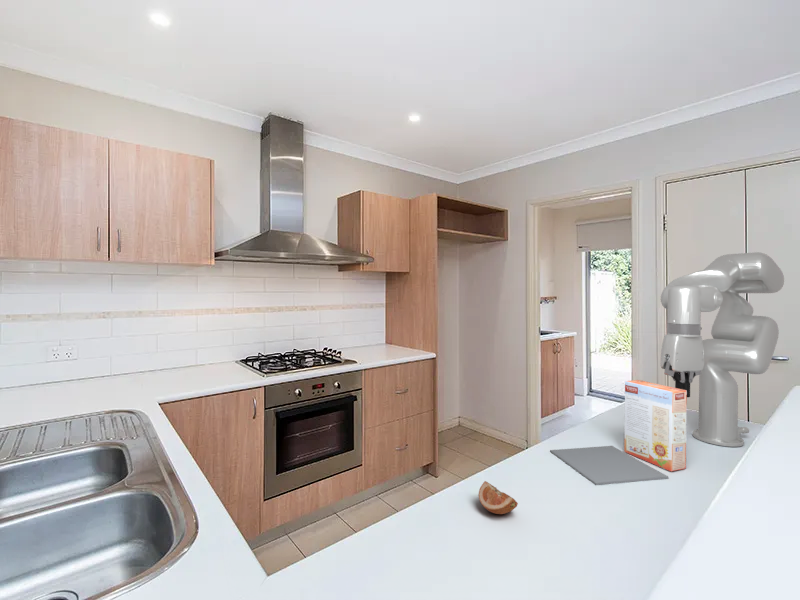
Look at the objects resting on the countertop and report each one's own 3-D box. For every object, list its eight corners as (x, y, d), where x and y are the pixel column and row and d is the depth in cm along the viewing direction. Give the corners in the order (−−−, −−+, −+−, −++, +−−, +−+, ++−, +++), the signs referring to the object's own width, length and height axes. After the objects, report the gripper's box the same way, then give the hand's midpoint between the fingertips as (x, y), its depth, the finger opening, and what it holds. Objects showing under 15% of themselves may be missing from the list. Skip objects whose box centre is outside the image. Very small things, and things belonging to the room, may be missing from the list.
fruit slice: (524, 517, 80) (524, 493, 80) (499, 527, 77) (500, 502, 77) (495, 499, 88) (495, 477, 88) (471, 507, 84) (472, 484, 84)
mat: (611, 447, 117) (611, 445, 117) (668, 478, 97) (668, 476, 97) (550, 451, 114) (550, 450, 114) (595, 485, 94) (595, 483, 94)
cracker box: (687, 469, 103) (688, 389, 102) (670, 473, 101) (672, 391, 100) (638, 449, 116) (639, 378, 115) (623, 452, 114) (624, 380, 113)
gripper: (694, 328, 114) (693, 391, 114) (649, 329, 111) (648, 393, 112) (719, 331, 107) (718, 398, 107) (671, 331, 104) (670, 400, 104)
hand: (682, 396), depth 109 cm, fingers closed
